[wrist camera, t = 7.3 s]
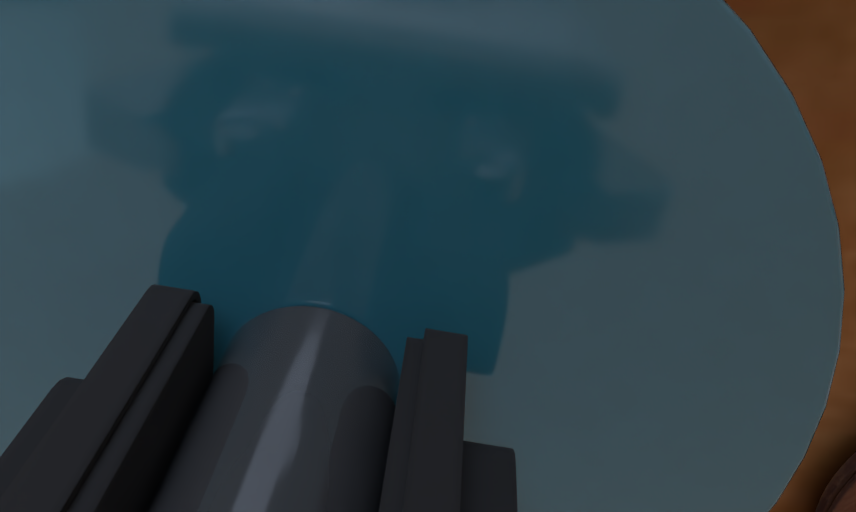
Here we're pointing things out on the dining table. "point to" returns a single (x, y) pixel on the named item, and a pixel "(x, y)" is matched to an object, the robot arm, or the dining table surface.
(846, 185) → the dining table surface
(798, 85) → the dining table surface
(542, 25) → the lid
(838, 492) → the brown wooden spool stand
